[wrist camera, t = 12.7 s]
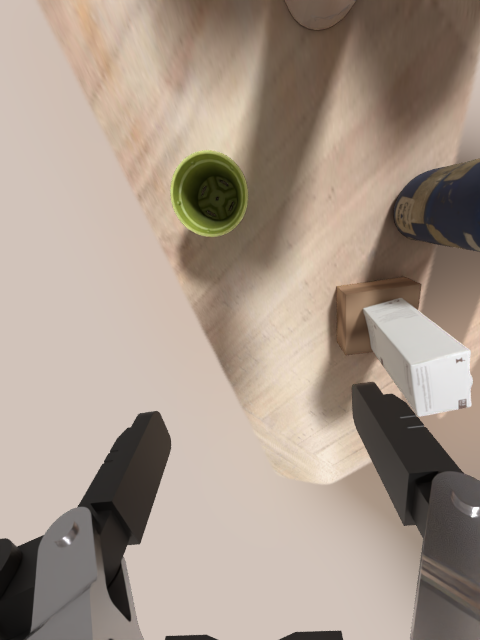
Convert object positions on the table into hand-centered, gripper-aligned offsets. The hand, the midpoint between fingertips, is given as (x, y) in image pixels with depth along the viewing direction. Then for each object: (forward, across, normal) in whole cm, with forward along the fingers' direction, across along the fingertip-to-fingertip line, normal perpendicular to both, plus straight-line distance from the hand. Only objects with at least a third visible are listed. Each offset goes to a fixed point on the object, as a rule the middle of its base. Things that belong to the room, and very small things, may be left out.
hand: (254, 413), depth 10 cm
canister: (+34, -27, -3) cm, 43 cm away
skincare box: (+29, -20, +13) cm, 38 cm away
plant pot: (+34, +3, -10) cm, 36 cm away
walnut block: (+34, -19, +13) cm, 41 cm away
